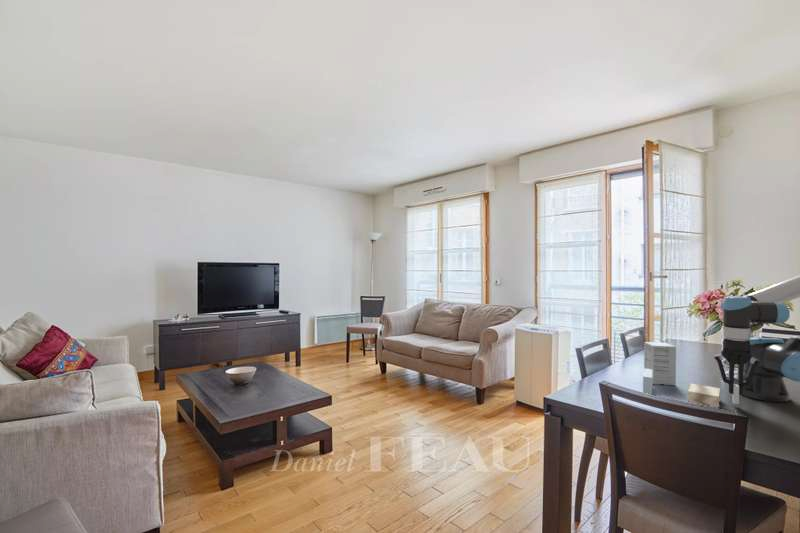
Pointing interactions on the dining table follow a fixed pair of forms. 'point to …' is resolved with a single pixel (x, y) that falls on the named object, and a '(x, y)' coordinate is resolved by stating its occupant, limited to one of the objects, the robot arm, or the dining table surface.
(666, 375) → the supplement box
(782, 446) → the dining table surface
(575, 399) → the dining table surface
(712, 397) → the maple block
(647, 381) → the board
